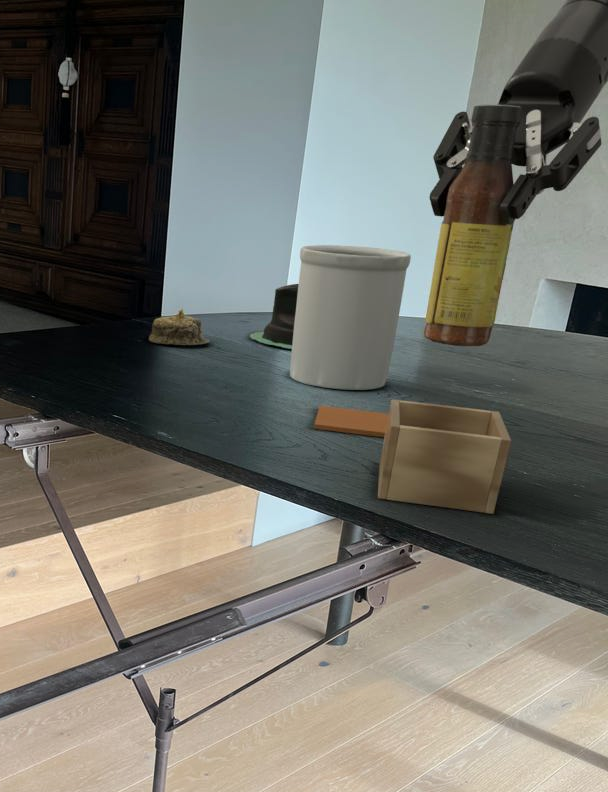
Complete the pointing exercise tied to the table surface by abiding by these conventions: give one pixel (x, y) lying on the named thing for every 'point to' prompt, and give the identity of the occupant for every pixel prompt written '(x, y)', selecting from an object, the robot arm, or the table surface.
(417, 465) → the box
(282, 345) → the chocolate cake
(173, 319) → the cake
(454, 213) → the sauce bottle
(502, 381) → the table surface
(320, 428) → the cork mat
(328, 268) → the utensil holder
